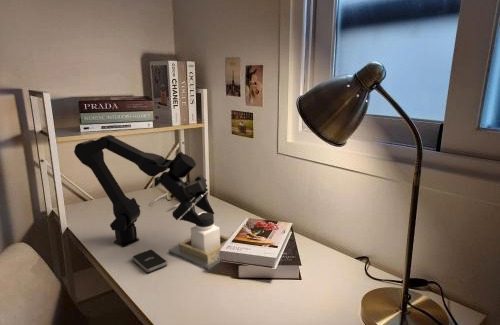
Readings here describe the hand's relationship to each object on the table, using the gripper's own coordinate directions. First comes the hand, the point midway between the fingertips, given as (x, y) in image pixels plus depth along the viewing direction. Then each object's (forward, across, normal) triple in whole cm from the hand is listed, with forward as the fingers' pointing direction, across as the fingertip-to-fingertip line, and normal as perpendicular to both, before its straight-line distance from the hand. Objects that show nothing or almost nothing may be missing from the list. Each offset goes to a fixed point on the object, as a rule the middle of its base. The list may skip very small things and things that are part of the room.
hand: (209, 219), depth 117 cm
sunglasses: (-15, +37, +31) cm, 50 cm away
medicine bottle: (+6, 0, +8) cm, 10 cm away
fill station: (+7, 0, +9) cm, 11 cm away
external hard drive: (-3, -12, +20) cm, 23 cm away
